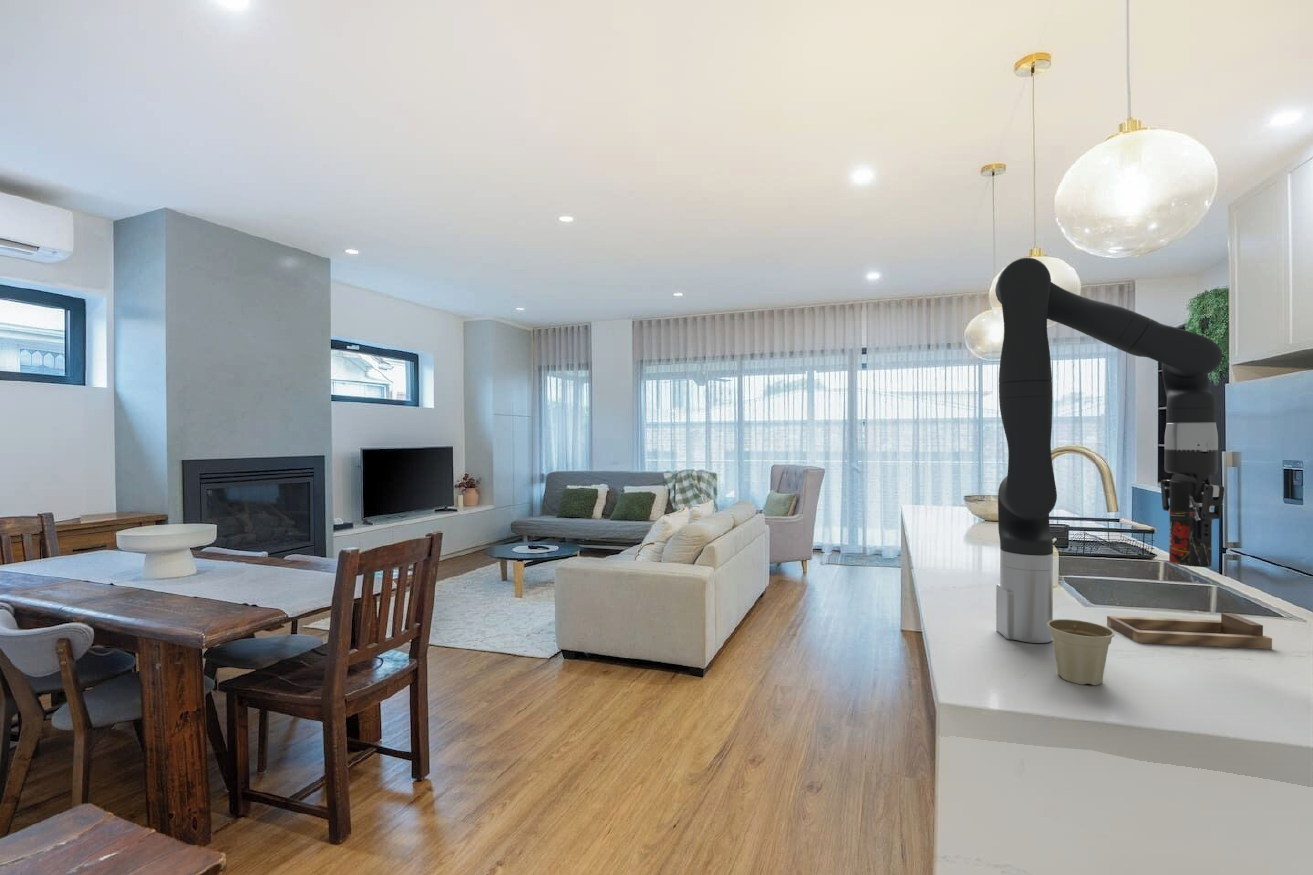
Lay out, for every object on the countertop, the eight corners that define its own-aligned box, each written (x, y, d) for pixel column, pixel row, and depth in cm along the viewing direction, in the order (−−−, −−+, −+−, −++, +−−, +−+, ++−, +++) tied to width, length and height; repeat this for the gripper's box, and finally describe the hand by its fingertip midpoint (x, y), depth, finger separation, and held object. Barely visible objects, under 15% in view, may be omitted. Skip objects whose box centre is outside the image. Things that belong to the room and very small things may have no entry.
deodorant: (1219, 567, 113) (1220, 483, 113) (1181, 566, 114) (1181, 483, 114) (1198, 560, 119) (1199, 481, 118) (1162, 559, 120) (1162, 480, 120)
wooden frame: (1137, 642, 124) (1137, 622, 124) (1107, 625, 134) (1107, 606, 134) (1272, 648, 120) (1272, 627, 120) (1229, 630, 131) (1229, 611, 131)
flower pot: (1117, 695, 99) (1117, 640, 99) (1046, 682, 104) (1046, 630, 104) (1112, 675, 107) (1112, 624, 107) (1046, 664, 112) (1047, 616, 112)
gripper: (1144, 446, 124) (1144, 532, 124) (1193, 448, 110) (1193, 545, 110) (1188, 446, 123) (1187, 533, 123) (1243, 448, 108) (1242, 546, 109)
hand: (1190, 538), depth 116 cm, fingers closed on deodorant, 6 cm apart
